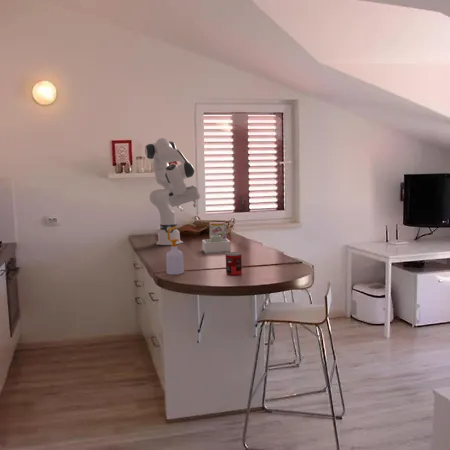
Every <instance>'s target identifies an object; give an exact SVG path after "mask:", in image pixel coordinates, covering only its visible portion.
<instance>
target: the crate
mask: <svg viewBox="0 0 450 450" xmlns="http://www.w3.org/2000/svg"><path fill="white" fill-rule="evenodd" d="M201 242H202V243H201V244H202V247H201V248H202V251H203V253H204V255H209V254H226V253H228V252H232V251H231V240H229V239H228V238H227V237H226V238H225V239H221V242H211V239H202V241H201Z"/></svg>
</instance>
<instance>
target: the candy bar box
mask: <svg viewBox="0 0 450 450" xmlns="http://www.w3.org/2000/svg"><path fill="white" fill-rule="evenodd" d="M208 229H209V230H208V232H209V233H208V234H209V239H211V237H210V236H212V235H220V236H221V239H225V238H227V222H224V221H223V222H222V221H221V222H219V221H218V222H213V221H212V222H211V221H210V222H209V224H208Z"/></svg>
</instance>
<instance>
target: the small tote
mask: <svg viewBox="0 0 450 450" xmlns="http://www.w3.org/2000/svg"><path fill="white" fill-rule="evenodd" d="M210 237H211V242H221V236H220V235H212V236H210Z"/></svg>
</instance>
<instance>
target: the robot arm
mask: <svg viewBox="0 0 450 450" xmlns="http://www.w3.org/2000/svg"><path fill="white" fill-rule="evenodd" d="M144 148H145V149H144V155H145V156H146V158H147V159H148V160H149V159H150V160H153V171H154V175H155V181H156V183H157V184H158V185H160V186H162V189H161V188H160V189H155V190H152V191H151V192H150V194H149V201H150V203H151V204H152V205H153V206H155V207H156V209H157V210H158V213H159V217H160V218H159V219H160V224H159V225H160V226H159V228H160V231H158V234H157V240H158V241H156V245H161V246H171V245H173V244H172V242H171V241H170V240H168V233H167V231H168V229H169V228H172V227H175V226H176V227H177V228H175V229H173V230H171V231H170V239H178V240H179V241H177V242H176V245H179V244H183V243H184V242H183V241H182V240H181V235H180V233H181V232H180V231H179V230H178V223H177V214H176V211H175V210H173V209H171V208H170V207H169V206H171V207H172V208H174V207H176V208H178V209H179V210H180V212H184V208H183V207H181V205H183V204H187V203H191V202H193V204H192V206H193V208H197V201H198V200H200V198H201V194H200V193H199V191H198V188H197V186H196V185H190V186H188V185H187V184H186V181H185V180H186V179H189V178H191V177H193V176H194V174H195V168H194V166H193V165H192V163H191V162H190V161H189V160H188V159H187V158H186V157H185V156H184V154H183V153H182V151H180V150H179V149H177V146H176V143H175V142H173V141H169V140H168V139H167V138H164V137H161V138H159V139H157V140H156V142H155V143H148V144H146V146H145V147H144ZM173 162H179V163H181V164H178V165H177V164H175V163H173ZM169 163H173V164H169Z"/></svg>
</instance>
